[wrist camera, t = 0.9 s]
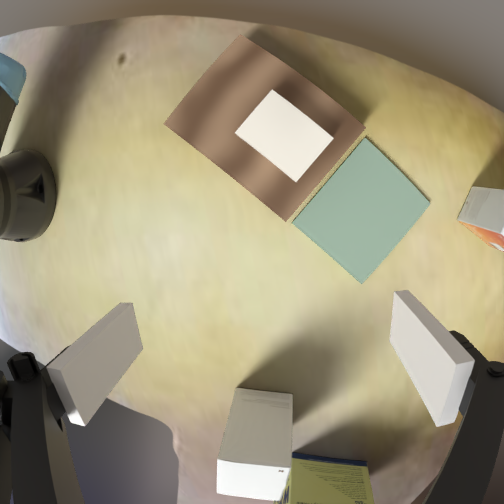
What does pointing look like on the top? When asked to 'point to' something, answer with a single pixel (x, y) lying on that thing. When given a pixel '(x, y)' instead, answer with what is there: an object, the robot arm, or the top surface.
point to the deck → (242, 105)
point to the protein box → (327, 481)
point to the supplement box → (256, 445)
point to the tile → (284, 135)
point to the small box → (485, 215)
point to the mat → (362, 211)
